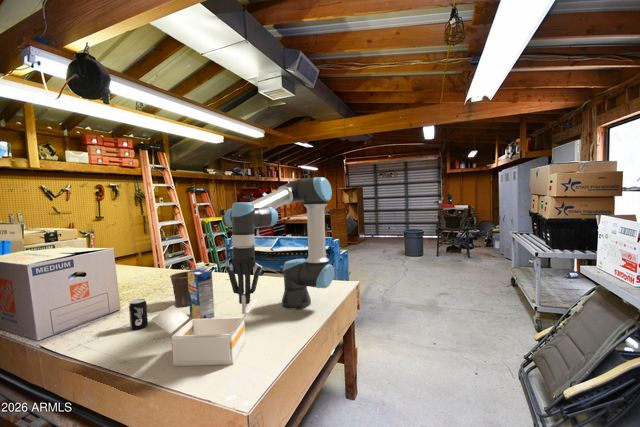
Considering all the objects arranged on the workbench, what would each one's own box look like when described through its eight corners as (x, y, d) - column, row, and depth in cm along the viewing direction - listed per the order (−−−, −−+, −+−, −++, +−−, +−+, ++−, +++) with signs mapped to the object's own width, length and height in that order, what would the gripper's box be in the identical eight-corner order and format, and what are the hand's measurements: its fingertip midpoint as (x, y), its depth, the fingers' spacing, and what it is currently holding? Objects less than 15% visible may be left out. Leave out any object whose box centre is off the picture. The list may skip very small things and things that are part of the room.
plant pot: (190, 296, 166) (188, 269, 165) (210, 299, 159) (208, 271, 158) (164, 306, 151) (163, 276, 150) (185, 310, 144) (183, 279, 143)
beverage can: (151, 324, 127) (149, 298, 127) (137, 331, 121) (135, 304, 120) (140, 323, 129) (139, 297, 129) (126, 329, 123) (125, 302, 123)
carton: (246, 342, 107) (244, 316, 107) (232, 366, 92) (230, 336, 91) (194, 343, 108) (192, 318, 107) (171, 367, 92) (170, 337, 92)
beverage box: (200, 321, 128) (197, 274, 127) (190, 316, 135) (187, 271, 135) (214, 317, 133) (211, 271, 132) (203, 311, 141) (201, 268, 140)
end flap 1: (189, 317, 106) (172, 304, 106) (171, 333, 93) (152, 318, 93) (188, 318, 106) (171, 305, 106) (170, 334, 93) (151, 319, 93)
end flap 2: (245, 316, 105) (257, 299, 105) (234, 332, 93) (248, 312, 92) (244, 316, 105) (256, 298, 105) (233, 331, 93) (246, 311, 92)
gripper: (264, 244, 101) (265, 308, 102) (229, 244, 102) (230, 308, 103) (258, 247, 94) (260, 317, 95) (221, 248, 94) (223, 316, 95)
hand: (244, 312), depth 99 cm, fingers closed
